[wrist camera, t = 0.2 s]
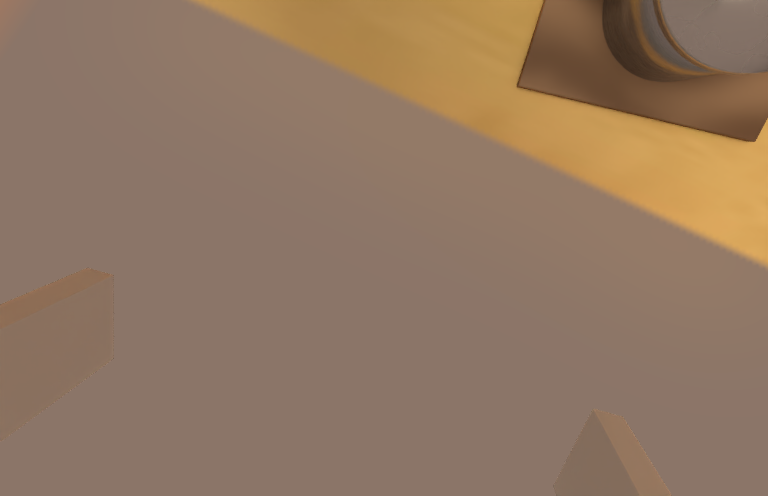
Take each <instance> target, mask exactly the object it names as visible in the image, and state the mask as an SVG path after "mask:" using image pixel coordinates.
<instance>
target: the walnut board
mask: <svg viewBox="0 0 768 496" xmlns="http://www.w3.org/2000/svg"><path fill="white" fill-rule="evenodd" d="M603 2H604V0H544V3H543V6H542V9H541V12H540V15H539V18H538V22H537V25H536V28H535V31H534V34H533V37H532V40H531V44H530V47H529V50H528V53H527V56H526V59H525V62H524V66H523V69H522V72H521V75H520V78H519V81H518V84H517V87H521V88H525V89H530V90H534V91H538V92H542V93H546V94H551V95H555V96H559V97H563V98H567V99H572V100H576V101H580V102H584V103H589V104H593V105H597V106H601V107H605V108H610V109H614V110H618V111H622V112H626V113H631V114H635V115H639V116H643V117H648V118H652V119H656V120H660V121H664V122H669V123H673V124H677V125H681V126H685V127H690V128H694V129H698V130H702V131H706V132H711V133H715V134H719V135H723V136H728V137H732V138H736V139H740V140H744V141H751V142H755V141H756V139H757V137H758V135H759V133H760V131H761V130H762V128H763V126H764V124H765V122H766V120H767V118H768V72H763V73H756V74H747V75H728V74H717V75H711V76H705V77H699V78H693V79H687V80H681V81H673V82H656V81H650V80H646V79H643V78H640V77H638V76H636V75H634V74H632V73H630V72H629V71H627V70H626V69H625V68H623V67H622V66H621V65H620V64H619V63H618V62H617V60H616V59H615V58H614V56H613V55H612V53H611V51H610V49H609V48H608V45H607V43H606V40H605V36H604V32H603V25H602V9H603Z"/></svg>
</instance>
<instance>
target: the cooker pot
mask: <svg viewBox="0 0 768 496" xmlns="http://www.w3.org/2000/svg"><path fill="white" fill-rule="evenodd" d="M602 25H603V32H604V36H605V40H606V43H607V45H608V48H609V49H610V51H611V53H612V55H613V56H614V58H615V59H616V60H617V62H618V63H619V64H620V65H621V66H622V67H623V68H625V69H626V70H627V71H629V72H630V73H632V74H634V75H636V76H638V77H640V78H643V79H646V80H650V81H656V82H673V81H681V80H687V79H693V78H699V77H705V76H711V75H717V74H728V75H747V74H756V73H763V72H768V0H604V2H603V9H602Z"/></svg>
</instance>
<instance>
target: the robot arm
mask: <svg viewBox="0 0 768 496" xmlns="http://www.w3.org/2000/svg"><path fill="white" fill-rule="evenodd" d="M113 276H114V275H111V274H108V273H104V272H100V271H97V270H93V269H90V268H86V269H83V270H81V271H79V272H76V273H74V274H71V275H69V276H67V277H64V278H62V279H60V280H57V281H55V282H53V283H50V284H48V285H45V286H43V287H41V288H38V289H36V290H34V291H31V292H29V293H26V294H24V295H22V296H19V297H17V298H15V299H13V300H10V301H7V302H5V303H3V304H0V442H1V441H3V440H4V439H5V438H7V437H8V436H9V435H11V434H12V433H13V432H15V431H16V430H18V429H19V428H20V427H22V426H23V425H24V424H26V423H27V422H28V421H30V420H31V419H32V418H34V417H35V416H37V415H38V414H39V413H41V412H42V411H43V410H45V409H46V408H47V407H49V406H50V405H51V404H53V403H54V402H56V401H57V400H58V399H60V398H61V397H62V396H64V395H65V394H66V393H68V392H69V391H70V390H72V389H73V388H74V387H76V386H77V385H78V384H80V383H81V382H83V381H84V380H85V379H87V378H88V377H90V376H91V375H92V374H94V373H95V372H96V371H98V370H99V369H100V368H102V367H103V366H104V365H106V364H107V363H109V362H110V361H111V360H113V356H114V348H113V347H114V345H113V344H114V342H113V341H114V340H113V339H114V338H113V337H114V335H113V334H114V330H113V329H114V327H113V326H114V325H113V324H114V323H113V322H114V317H113V313H114V305H113V304H114V302H113V301H114V293H113V292H114V291H113V288H114V285H113V284H114V283H113V282H114V279H113V278H114V277H113ZM553 487H554V490H555V493H556V496H672V495H671V493H670V492H669V490H668V488H667V487H666V485H665V484H664V482H663V480H662V479H661V477H660V476H659V474H658V473H657V471H656V469H655V468H654V466H653V464H652V463H651V461H650V460H649V458H648V456H647V455H646V453H645V452H644V450H643V448H642V447H641V445H640V444H639V442H638V440H637V439H636V437H635V436H634V434H633V432H632V431H631V429H630V428H629V426H628V424H627V423H626V421H625V419H624V418H623V417H622V416H618V415H614V414H611V413H607V412H604V411H600V410H596V409H593V410H592V411H591V414H590V415H589V417H588V419H587V421H586V423H585V425H584V427H583V429H582V431H581V433H580V435H579V437H578V439H577V441H576V443H575V445H574V447H573V448H572V451H571V452H570V454H569V456H568V458H567V460H566V462H565V464H564V466H563V468H562V470H561V472H560V474H559V476H558V478H557V480H556V482H555V483H554V485H553Z"/></svg>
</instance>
